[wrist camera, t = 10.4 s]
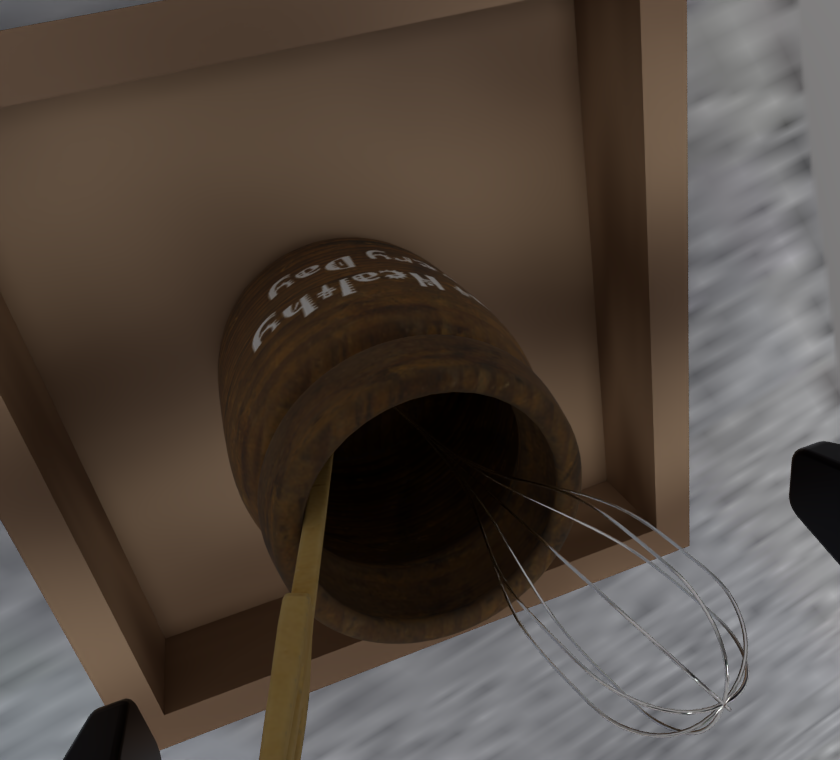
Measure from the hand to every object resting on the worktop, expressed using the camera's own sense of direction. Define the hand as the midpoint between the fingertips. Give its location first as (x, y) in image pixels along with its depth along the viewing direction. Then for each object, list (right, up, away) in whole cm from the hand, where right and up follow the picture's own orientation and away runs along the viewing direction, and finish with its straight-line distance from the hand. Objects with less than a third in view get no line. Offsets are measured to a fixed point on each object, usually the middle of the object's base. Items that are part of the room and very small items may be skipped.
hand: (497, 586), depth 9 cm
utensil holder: (-3, +3, +8) cm, 9 cm away
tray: (-3, +4, +9) cm, 10 cm away
